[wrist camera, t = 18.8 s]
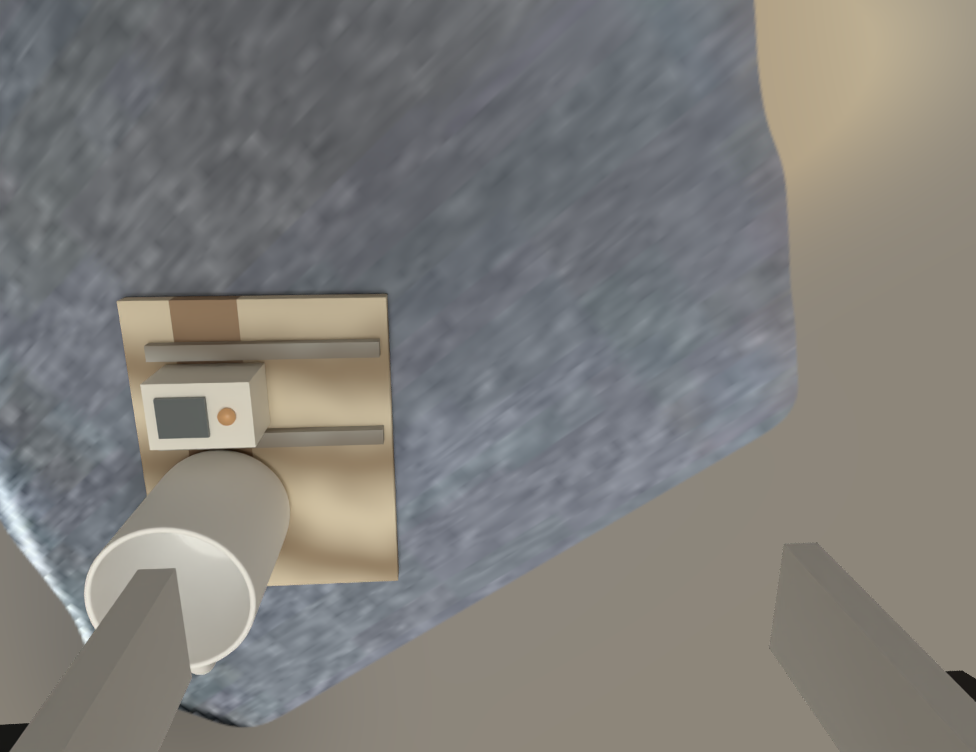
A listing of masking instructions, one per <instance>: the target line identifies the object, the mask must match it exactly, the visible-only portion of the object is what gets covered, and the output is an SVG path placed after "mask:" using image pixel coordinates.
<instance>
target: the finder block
mask: <svg viewBox="0 0 976 752" xmlns="http://www.w3.org/2000/svg"><path fill="white" fill-rule="evenodd" d="M140 387H141V393H142V400H143V406H144V413H145V420H146V426H147V433H148V440H149V446H150V450H175V449H210V448H245V447H256V446H257V444H258V442H259V441H260V439H261V437H262V436H263V434H264V432H265V431H266V429H267V427H268V426H269V424H270V415H269V405H268V394H267V384H266V374H265V363H226V364H176V365H164V366H163V367H162V368H161V369H159V370H158V371H157V372H155V373H154V374H153V375H152V376H150V377H149V378H148V379H147V380H145V381H144V382H143V383H142V384H140Z"/></svg>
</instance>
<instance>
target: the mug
mask: <svg viewBox="0 0 976 752" xmlns="http://www.w3.org/2000/svg"><path fill="white" fill-rule="evenodd" d="M289 520H290V505H289V499H288V496H287V493H286V490H285V488H284V486H283V484H282V483H281V481H280V480H279V478H278V477H277V476H276V475H275V473H274V472H273V471H272V470H271V469H269V468H268V467H267V466H266V465H264V464H263V463H262V462H260V461H258V460H257V459H255V458H253V457H251V456H248V455H246V454H243V453H239V452H235V451H230V450H210V451H204V452H200V453H197V454H194V455H192V456H190V457H187V458H185V459H184V460H182V461H181V462H179V463H177V464H176V465H175V466H174V467H173V468H171V469H170V470H169V471H168V472H167V473H166V474H165V475H164V477H163V478H162V479H161V480H160V481H159V482H158V484H157V485H156V486H155V487H154V488H153V490H152V491H151V492H150V493H149V494H148V496H147V497H146V498H145V499H144V500H143V502H142V503H141V504H140V505H139V507H138V508H137V509H136V510H135V511H134V513H133V514H132V515H131V516H130V517H129V519H128V520H127V521H126V522H125V523H124V525H123V526H122V527H121V528H120V529H119V531H118V532H117V533H116V534H115V535H114V537H113V538H112V539H111V540H110V542H109V543H108V544H107V545H106V546H105V548H104V549H103V550H102V551H101V552H100V554H99V555H98V556H97V557H96V559H95V560H94V562H93V563H92V565H91V567H90V569H89V572H88V574H87V578H86V582H85V591H84V597H85V606H86V610H87V614H88V616H89V618H90V621H91V623H92V625H93V626H94V628H95V630H96V628H97V627H98V625H99V624H100V623H101V621H102V620H103V618H104V617H105V615H106V614H107V613H108V611H109V610H110V608H111V607H112V606H113V604H114V603H115V601H116V600H117V598H118V597H119V596H120V594H121V593H122V591H123V590H124V588H125V587H126V586H127V584H128V583H129V581H130V580H131V579H132V577H133V576H134V574H135V573H136V571H137V570H138V569H163V568H176V573H177V580H178V587H179V593H180V600H181V607H182V614H183V621H184V628H185V634H186V641H187V648H188V655H189V662H190V669H191V672H192V673H194V674H196V675H204V674H206V673H208V672H210V671H211V670H212V668H213V667H214V665H215V663H216V661H218V660H220V659H222V658H223V657H225V656H227V655H228V654H230V653H231V652H232V651H233V650H234V649H236V648H237V647H238V646H239V645H240V643H241V642H242V641H243V640H244V638H245V637H246V636H247V634H248V632H249V630H250V628H251V626H252V624H253V621H254V619H255V616H256V613H257V611H258V608H259V605H260V603H261V600H262V598H263V595H264V592H265V590H266V587H267V584H268V582H269V579H270V576H271V574H272V571H273V569H274V566H275V563H276V561H277V558H278V555H279V553H280V550H281V547H282V545H283V542H284V539H285V536H286V533H287V530H288V526H289Z"/></svg>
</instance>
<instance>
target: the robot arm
mask: <svg viewBox="0 0 976 752" xmlns="http://www.w3.org/2000/svg"><path fill="white" fill-rule="evenodd" d="M769 649H770V650H771V652H772V653H773V655H774V656H775V657H776V659H777V660H778V662H779V663H780V665H781V666H782V668H783V669H784V671H785V672H786V674H787V675H788V677H789V678H790V679H791V681H792V682H793V684H794V685H795V687H796V688H797V690H798V691H799V693H800V694H801V696H802V697H803V698H804V700H805V701H806V703H807V704H808V706H809V707H810V709H811V710H812V711H813V713H814V715H815V716H816V717H817V719H818V720H819V722H820V723H821V725H822V726H823V727H824V729H825V731H826V732H827V733H828V735H829V736H830V738H831V739H832V741H833V742H834V744H835V745H836V747H837V748H838V750H839V751H840V752H976V679H975V678H974V677H972V676H970V675H969V674H967V673H965V672H964V671H944V670H943V669H942V668H941V667H940V666H939V665H938V664H937V663H936V662H935V661H934V660H933V659H932V658H931V657H930V656H929V655H928V654H927V653H926V652H925V651H924V650H923V649H922V648H921V647H920V646H919V645H918V644H917V643H916V642H915V641H914V640H913V639H912V638H911V637H910V635H909V634H908V633H907V632H906V631H905V630H903V629H902V627H901V626H900V625H899V624H898V623H897V622H895V621H894V620H893V618H892V617H891V616H890V615H889V614H887V612H886V611H885V610H884V609H882V608H881V606H880V605H879V604H877V602H876V601H875V600H874V599H873V598H872V597H870V595H869V594H868V593H867V592H866V591H865V590H864V589H863V588H862V587H861V586H860V585H859V584H858V583H857V582H856V581H855V580H854V579H853V578H852V577H851V576H850V575H849V574H848V573H847V572H846V571H845V570H844V569H843V568H842V567H841V566H840V565H839V564H838V563H837V562H836V561H835V560H834V559H833V558H832V557H831V556H830V555H829V554H828V553H827V552H826V551H825V550H824V549H823V548H822V547H821V546H820V545H819V544H818V543H791V544H784V546H783V553H782V560H781V568H780V575H779V582H778V589H777V596H776V603H775V610H774V618H773V625H772V632H771V639H770V646H769ZM191 678H192V675H191V669H190V662H189V655H188V648H187V641H186V634H185V628H184V621H183V614H182V607H181V600H180V593H179V587H178V580H177V573H176V568H163V569H138V570H137V571H136V573H135V574H134V576H133V577H132V579H131V580H130V581H129V583H128V584H127V586H126V587H125V588H124V590H123V591H122V593H121V594H120V596H119V597H118V598H117V600H116V601H115V603H114V604H113V606H112V607H111V608H110V610H109V611H108V613H107V614H106V615H105V617H104V618H103V620H102V621H101V623H100V624H99V625H98V627H97V628H96V630H95V631H94V632H93V634H92V635H91V637H90V638H89V640H88V641H87V642H86V644H85V645H84V647H83V648H82V650H81V651H80V652H79V654H78V655H77V657H76V658H75V660H74V661H73V662H72V664H71V665H70V667H69V668H68V669H67V671H66V672H65V674H64V675H63V676H62V678H61V679H60V681H59V682H58V684H57V685H56V687H55V688H54V689H53V691H52V692H51V694H50V695H49V696H48V698H47V699H46V701H45V702H44V703H43V705H42V706H41V708H40V709H39V711H38V712H37V713H36V715H35V716H34V718H33V719H32V721H31V722H30V723H24V724H6V725H0V752H158V751H159V748H160V746H161V744H162V742H163V740H164V737H165V735H166V733H167V731H168V729H169V727H170V724H171V722H172V720H173V718H174V716H175V713H176V711H177V709H178V707H179V705H180V702H181V700H182V698H183V696H184V694H185V691H186V689H187V687H188V685H189V683H190V681H191Z"/></svg>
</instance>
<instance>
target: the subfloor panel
mask: <svg viewBox="0 0 976 752" xmlns="http://www.w3.org/2000/svg"><path fill="white" fill-rule="evenodd" d="M117 305H118V312H119V318H120V325H121V331H122V338H123V344H124V350H125V357H126V363H127V370H128V376H129V383H130V389H131V395H132V402H133V408H134V415H135V421H136V428H137V434H138V441H139V447H140V453H141V460H142V466H143V473H144V479H145V486H146V492H147V496H148V494H149V493H150V492H151V491H152V490H153V488H154V487H155V486H156V485H157V484H158V482H159V481H160V480H161V479H162V478H163V477H164V475H165V474H166V473H167V472H168V471H169V470H170V469H171V468H173V467H174V466H175V465H176V464H177V463H179V462H181V461H182V460H184V459H185V458H187V457H190V456H192V455H194V454H197V453H200V452H204V451H210V450H230V451H235V452H239V453H243V454H246V455H248V456H251V457H253V458H255V459H257V460H258V461H260V462H262V463H263V464H264V465H266V466H267V467H268V468H269V469H271V470H272V471H273V472H274V473H275V475H276V476H277V477H278V478H279V480H280V481H281V483H282V484H283V486H284V488H285V490H286V493H287V496H288V499H289V505H290V520H289V526H288V530H287V533H286V536H285V539H284V542H283V545H282V547H281V550H280V553H279V555H278V558H277V561H276V563H275V566H274V569H273V571H272V574H271V576H270V579H269V582H268V584H267V586H280V585H303V584H327V583H350V582H374V581H397V580H398V574H399V565H398V541H397V517H396V493H395V469H394V445H393V421H392V397H391V373H390V348H389V324H388V300H387V294H336V295H262V296H188V297H125V298H123V299H120V300H118V301H117ZM226 363H265V374H266V384H267V394H268V405H269V415H270V424H269V426H268V427H267V429H266V431H265V432H264V434H263V436H262V437H261V439H260V441H259V442H258V444H257V446H256V447H245V448H210V449H175V450H150V446H149V440H148V433H147V426H146V420H145V413H144V406H143V400H142V393H141V387H140V384H142V383H143V382H144V381H145V380H147V379H148V378H149V377H150V376H152V375H153V374H154V373H155V372H157V371H158V370H159V369H161V368H162V367H163V366H164V365H176V364H226Z"/></svg>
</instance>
